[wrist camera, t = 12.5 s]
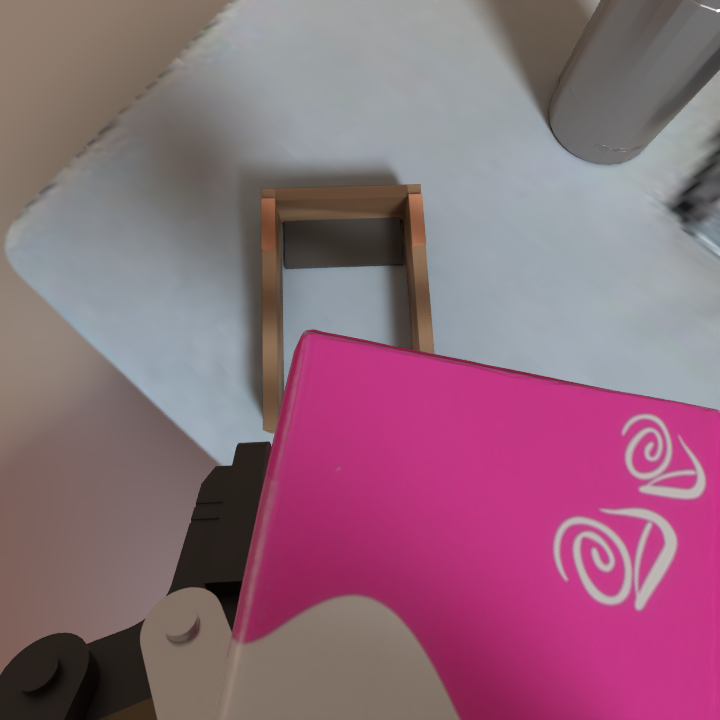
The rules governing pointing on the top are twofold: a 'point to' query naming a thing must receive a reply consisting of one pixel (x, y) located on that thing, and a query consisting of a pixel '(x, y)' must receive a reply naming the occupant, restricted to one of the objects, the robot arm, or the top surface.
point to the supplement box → (477, 548)
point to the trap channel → (338, 256)
